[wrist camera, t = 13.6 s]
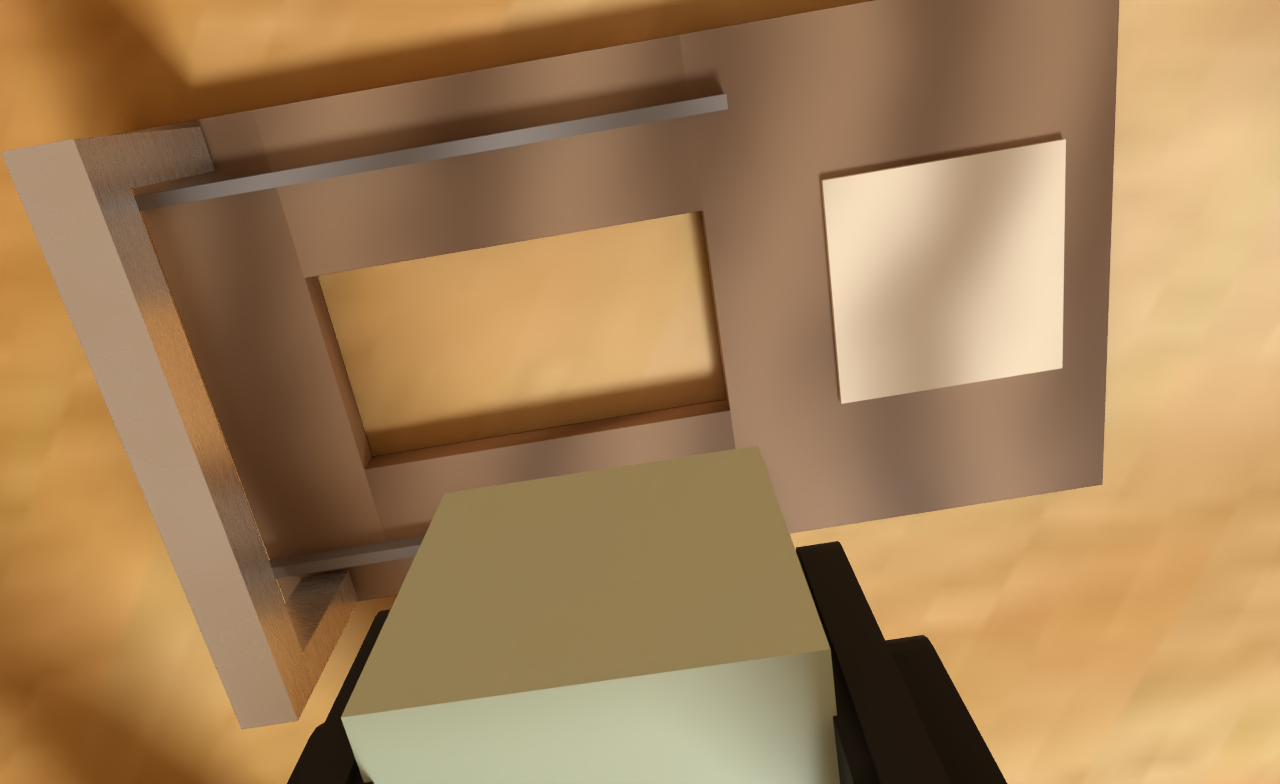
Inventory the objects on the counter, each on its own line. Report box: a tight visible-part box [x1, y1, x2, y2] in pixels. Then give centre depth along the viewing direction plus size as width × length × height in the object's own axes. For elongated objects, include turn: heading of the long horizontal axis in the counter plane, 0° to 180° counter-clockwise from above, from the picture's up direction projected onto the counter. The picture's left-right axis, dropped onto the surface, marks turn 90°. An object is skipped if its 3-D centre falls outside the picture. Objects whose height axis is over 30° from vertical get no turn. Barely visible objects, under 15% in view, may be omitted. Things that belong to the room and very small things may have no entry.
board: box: [113, 0, 1119, 602], centre depth 26 cm, size 28×16×2 cm, turn 99°
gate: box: [1, 127, 358, 729], centre depth 23 cm, size 2×16×6 cm, turn 9°
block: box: [341, 446, 840, 784], centre depth 10 cm, size 4×4×4 cm
